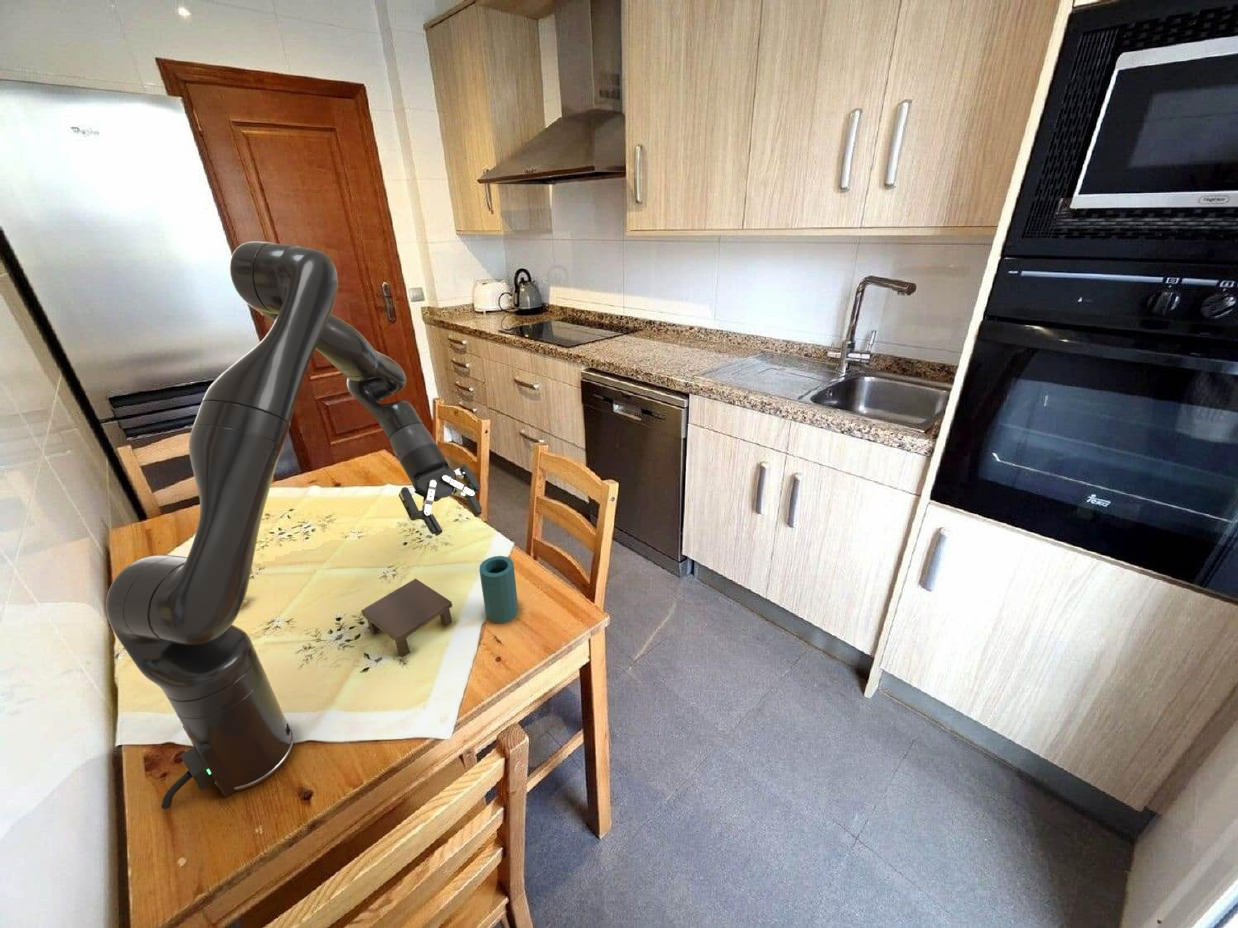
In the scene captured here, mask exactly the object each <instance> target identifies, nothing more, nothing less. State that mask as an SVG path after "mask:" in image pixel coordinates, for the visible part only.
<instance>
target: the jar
mask: <svg viewBox="0 0 1238 928" xmlns="http://www.w3.org/2000/svg"><path fill="white" fill-rule="evenodd" d="M514 564H515V563H514V561H513V559H512V558H509V557H508V556H503V555H495V556H492V557H491V556H490V557H488V558H487V559H484V560H483V561H481V563H480V565H479V569H478V571H479V577H480V585H481V591H482V599H483V604H484V611H485V612H484V613H485V616H486V619H487V620H488V621H489V622H491V623H493V624H498V625H499V624H501V625H502V624H506V623H509V622H511V621H512V620H514V619H515V618H516V617H517V615H518V613H519V602H518V595H517V594H518V593H517V592H518V591H517V583H516V574H515V573H516V572H515V565H514Z"/></svg>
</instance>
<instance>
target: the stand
mask: <svg viewBox="0 0 1238 928" xmlns="http://www.w3.org/2000/svg"><path fill="white" fill-rule="evenodd" d="M452 607H453V604H452V601H451V600H449V599H448V598H447V597H445V596H444V595H442V594H440V593H438V591H436V590H435V589H433V588H431V587H430V586H428V585H426V584H425V583H423V582H422V581H420V580H419V579H417V578H413V579H412V580H410V581H408V582H407V583H405V584H403V585H402V586H400V587H398V588H397V589H395V590H393V591H392V592H390V593H388V594H386V595H385V596H383V597H381V598H380V599H378V600H376V601H375V602H373V603H371V604H369V605H368V606H366V607H364V608H363V609H361V610H360V612H361V616H363V617H364V618H365V619H366V621H367V624H368V627H369V631H370V632H371V633H372V634H373V635H376V634H377V633H379V632H381V631H382V632H383V633H384V634H385V635H386V636H388V637H389V638H390V639H391V640H392V641H394V643H395V647H396V651H397V654H398V655H399V656H400V657H402V658H404V657H405V656H407V655H408V654H410V653H411V650H410V647H409V643H408V639H407V638H408V637H410V636H411V635H413V634H414V633H416V632H417V631H419V630H420V629H421V628H423V627H424V626H426V625H427V624H429V623H430V622H431V621H434V620H435V619H436V618H438V617H439V618H440V624H441V625H442V626H444V627H445V628H446V627H448V626H450V625H451V624H452V623H453V620H452V619H453V618H452V614H451V608H452Z"/></svg>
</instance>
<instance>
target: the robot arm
mask: <svg viewBox="0 0 1238 928" xmlns="http://www.w3.org/2000/svg"><path fill="white" fill-rule="evenodd" d="M229 273H230V274H229V276H230V279H231V283H232V285H233V288H234V289H235V291H236V293H237V294H238V296H239V297H240V298H241V299H242V301H244V302H245V303H246V304H247V305H249V306H250V307H251V308H253V310H255V311H257V312H259V313H260V314H262V315H263V316H265V317H267V318H268V319H270V320H271V321H273V324H272V326H271V327H270V329H269V331H268V332H267V333H266V334H265V336H264V338H262V339H261V340H260V341H259V343H257V345H255V346H254V347H253V348H252V349H251V350H249V352H247V353H245V354H244V355H243V356H242V357H240V358H239V359H238V360H236V362H234V363H233V364H232V365H230V366H229V367H228V368H227V369H225V371H223V372H222V373H221V374H220V375H218V377H217V378H216V379H214V381H213V382H212V383H211V384H210V386H208V389H206V391H205V393H204V396H203V398H202V401H201V403H200V406H199V408H198V412H197V413H196V417H195V420H194V422H193V425H192V427H191V431H190V434H189V440H188V452H189V460H190V464H191V469H192V473H193V477H194V480H195V484H196V488H197V492H198V493H197V494H198V498H199V519H198V524H197V527H196V528H197V529H196V532H195V535H194V538H193V541H192V545H191V547H190V550H189V552H188V555H187V556H181V555H180V556H179V555H172V554H171V555H170V554H156V555H149V556H146V557H142V558H140V559H138V560H135V561H134V562H132V563H130V564H129V565H127V566H126V567H125V568H123V569H122V570H121V571H120V572H119V573H118V574H117V575H116V577H115V578H114V580H113V581H112V583H111V584H110V587H109V589H108V590H107V591H108V592H107V595H106V600H105V612H106V617H107V620H108V623H109V625H110V627H111V629H112V632H113V633H114V635H115V636H116V638H117V639H118V641H119V643H120V644H121V646H122V647H123V648H124V650H125V651H126V653H127V654H128V656H129V657H130V659H131V660H132V661H133V663H134V664H135V666H136V667H137V669H138V670H139V672H140V673H141V674H142V675H143V676H144V677H145V678H146V679H147V680H149V681H150V682H152V683H154V684H155V685H157V686H158V687H159V688H160V689H161V690H162V691H163V693H164V695H165V697H166V698H167V700H168V702H169V704H170V705H171V707H172V708H173V710H174V712H175V714H176V716H177V717H178V719H179V721H180V722H181V724H182V728H183V730H184V731H185V734H186V735H187V737H188V738H189V741H190V742H191V744H192V745H193V747H191V748H188V750H186V751H185V752H183V753H181V754H180V755H179V757H180V759H181V761H182V762H183V763H184V765H185V767H186V768H187V771H186V772H185V773H184V774H183V775H182V776H181V777H180V778H179V779H178V780H176V782H174V783H173V784H172V785H171V786H170V787H169V789H167V791H166V793H165V795H164V796H163V799H162V801H161V809H163V810H167V809H169V808H171V806H172V803H173V800H174V799H173V798H174V796H175V795H176V793H178V791H179V790H180V789H181V788H182V787H183V786H184V785H186V783H188V782H190V780H191V779H193V780H194V782H195V783H196V785H197V786H198V789H199V791H200V792H203V791H205V790H206V789H208V788H209V787H211V786H212V785H213V784H215V786H216V787H217V788H218V790H219V791H220V792H221V794H222V795H223V797H224V798H228V797H230V796H231V795H233V794H234V793H236V792H240V791H243V790H247V789H249V788H252V787H255V786H257V785H259V784H261V783H263V782H264V781H266V780H267V779H269V778H270V777H272V776H273V775H274V774H275V773H276V772H278V770H280V769H281V767H282V766H283V765H284V764H285V763H286V761H287V760H288V759H289V757H290V755H291V753H292V751H293V749H294V746H295V737H294V734H293V730H292V729H291V726H290V725H289V723H288V721H287V719H286V717H285V716H284V712H283V711H282V709H281V706H280V704H279V702H278V699H277V697H276V694H275V692H274V690H273V687H272V686H271V683H270V681H269V678H268V676H267V674H266V671H265V669H264V667H263V664H262V663H261V660H260V657H259V655H258V653H257V651H256V648H255V646H254V643H253V641H252V639H251V638H250V636H249V635H248V633H247V632H245V630H243V629H242V628H240V627H238V626H236V625H234V622H235V621H236V620H237V618H238V616H239V614H240V611H241V610H242V608H243V607H242V605H243V602H244V599H246V596H247V592H248V587H249V584H250V579H251V573H252V568H253V563H254V558H255V552H256V547H257V542H258V536H259V533H260V532H259V531H260V528H261V523H262V520H263V519H262V518H263V514H264V510H265V507H266V503H267V500H268V497H269V492H270V490H271V489H270V488H271V485H272V481H273V478H274V475H275V473H276V470H277V466H278V463H279V460H280V457H281V455H282V453H283V449H284V446H285V444H286V441H287V438H288V434H289V431H290V427H291V424H292V419H293V416H294V412H295V408H296V405H297V401H298V398H299V395H300V392H301V388H302V386H303V383H304V380H305V377H306V374H307V371H308V369H309V366H310V363H311V360H312V358H313V355H314V353H315V351H317V352H318V353H319V354H320V355H322V356H323V357H324V358H325V359H326V360H327V361H328V362H329V363H331V365H332V366H334V368H335V369H336V370H338V371H339V372H340V374H342V375H343V377H345V378H346V388H347V391H348V392H349V394H350V395H351V396H352V397H353V399H354V400H356V401H357V402H358V403H359V404H360V405H361V406H362V408H364V409H365V410H366V411H368V412H369V413H370V415H371V416H372V417H373V418H374V419H375V421H376V422H377V423H378V425H379V426H380V428H381V429H382V432H383V433H384V435H385V436H386V438H387V440H388V441H389V443H390V447H391V449H392V451H393V453H394V455H395V458H396V459H397V461H398V462H399V464H400V465H401V467H402V469H403V470H404V472H405V474H406V475H407V477H408V479H409V481H410V483H412V486H410V487H406V486H403V487H402V488H401V489H400V491H399V492H398V497H399V499H400V501H401V503H402V505H403V508H404V510H405V511H406V513H407V516H408V517H409V519H410V520H411V521H412V522H414V521H417V520H422V521H423V522H424V524H425V526H426V528H427V530H428V531H429V532H430V534H431V535H435V536H436V537H437V536H440V535H441V534H442V533H443V529H442V527H441V526H440V523H439V522H438V520H437V519H436V517H435V515H434V513H431V512H432V508H433V504H434V503H437V502H438V501H441V499H446V498H448V497H451V495H452V496H455V497H459V498H462V499H463V500H466V501H465V503H466V504H467V506H468V508H469V510H470V511H471V513H472V515H473V516H474V518H478V517H480V516H481V515H482V513H483V512H482V511H483V507H482V506H481V504H480V502H479V501H478V498H477V497H476V494H477V493H478V492H479V491H480V490H481V488H482V486H481V484H480V483H479V481H478V480H477V479H476V477H475V476H474V474H473V472H472V471H471V470H470V468H469V467H468V465H467V464H462V465H461V466H460V467H458V468H457V469H452V468H451V467H450V466H449V463H448V461H447V459H446V457H445V456H444V454H443V452H442V450H441V448H440V447H439V446H438V444H437V443H436V441H435V439H434V437H433V435H432V434H431V432H430V431H429V430H428V429H427V427H426V426H425V425H424V423H423V421H422V419H421V417H420V416H419V414H418V412H417V411H416V409H415V408H414V406H413V404H412V403H410V402H409V401H408V400H398V401H393V402H388V403H380V402H382V401H384V400H386V399H388V398H390V397H392V396H394V395H396V394H398V393H400V392H401V391H403V390H404V389H405V387H406V385H407V376H406V373H405V371H404V369H403V368H402V367H401V365H400V364H399V363H398V362H396V361H395V360H394V359H392V358H391V357H389V356H388V355H385V354H383V353H382V352H380V351H377V350H376V349H375V348H374V347H373V346H372V344H370V342H369V341H368V340H367V339H366V337H365V336H364V335H363V334H362V333H361V332H360V331H358V329H356V328H355V327H354V326H352V325H351V324H349V323H348V322H346V321H344V320H342V319H341V318H338V317H337V316H335V315H333V314H332V312H333V310H334V306H335V303H336V300H337V295H338V289H339V279H338V272H337V268H336V265H335V263H334V262H333V260H332V259H331V258H330V257H329V256H328V255H327V254H326V253H325V252H323V251H321V250H318V249H315V248H311V247H306V246H300V245H291V244H283V243H277V242H276V243H275V242H270V241H248V242H244V243H242V244H240V245H238V247H236V248H235V250H234V251H233V253H232V255H231V258H230V261H229ZM457 477H458V478H459V479H460V480H462V481H463V483H464V484H463V483H462V482H460V481H457V480H456V479H457ZM415 494H416V495H418V496H420V497H422V503H421V510H420V509H419V507H418V505H417V504H416V501H415V499H414V497H415Z"/></svg>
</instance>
